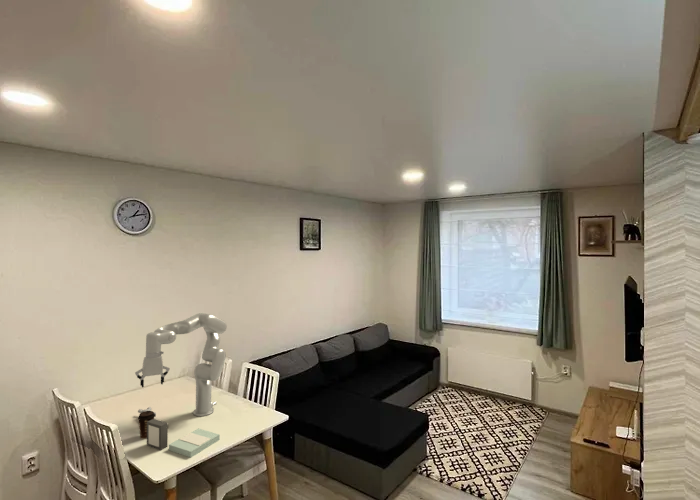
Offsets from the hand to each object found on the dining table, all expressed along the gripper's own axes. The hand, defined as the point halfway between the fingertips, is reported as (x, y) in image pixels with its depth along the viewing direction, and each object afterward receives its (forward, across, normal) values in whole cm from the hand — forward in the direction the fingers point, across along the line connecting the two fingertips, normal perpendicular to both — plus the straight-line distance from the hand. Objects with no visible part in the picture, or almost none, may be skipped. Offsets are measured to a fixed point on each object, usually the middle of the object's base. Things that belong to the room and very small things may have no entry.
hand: (152, 385), depth 214 cm
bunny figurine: (+30, -1, -29) cm, 41 cm away
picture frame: (+30, -2, +12) cm, 32 cm away
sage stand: (+29, -19, +21) cm, 41 cm away
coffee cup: (+30, +2, -4) cm, 30 cm away
